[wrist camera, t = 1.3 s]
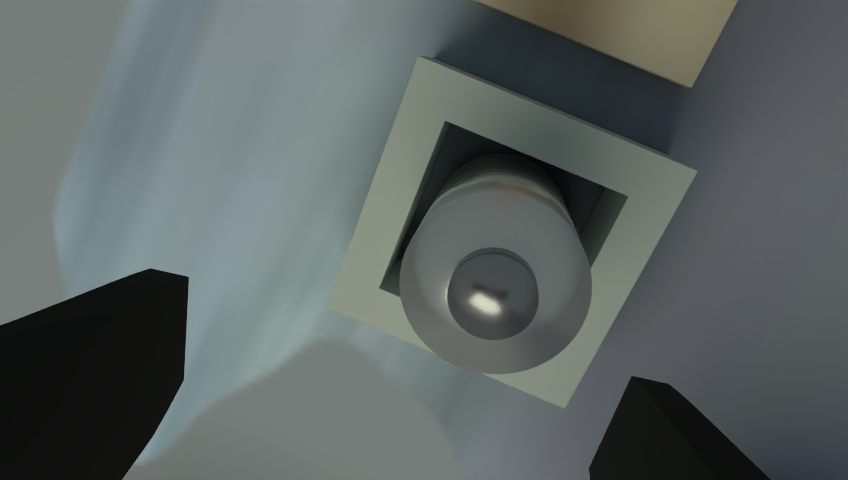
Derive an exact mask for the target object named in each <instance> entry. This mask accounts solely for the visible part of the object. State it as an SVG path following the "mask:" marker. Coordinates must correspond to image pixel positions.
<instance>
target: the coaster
mask: <svg viewBox="0 0 848 480" xmlns="http://www.w3.org/2000/svg"><path fill="white" fill-rule="evenodd" d="M473 1H475V2H477V3H480V4H482V5H485V6H487V7H490V8H492V9H495V10H497V11H500V12H502V13H504V14H507V15H509V16H512V17H514V18H517V19H519V20H522V21H524V22H526V23H529V24H531V25H534V26H536V27H539V28H541V29H544V30H546V31H549V32H551V33H553V34H556V35H558V36H561V37H563V38H566V39H568V40H571V41H573V42H576V43H578V44H580V45H583V46H585V47H588V48H590V49H593V50H595V51H598V52H600V53H602V54H605V55H607V56H610V57H612V58H615V59H617V60H620V61H622V62H625V63H627V64H629V65H632V66H634V67H637V68H639V69H642V70H644V71H647V72H649V73H652V74H654V75H656V76H659V77H661V78H664V79H666V80H669V81H671V82H674V83H676V84H678V85H681V86H683V87H686V88H692V86H693V84H694V83H695V81H696V79H697V77H698V75H699V73H700V71H701V69H702V67H703V66H704V64H705V62H706V60H707V58H708V56H709V54H710V52H711V50H712V49H713V47H714V45H715V43H716V41H717V39H718V37H719V35H720V33H721V32H722V30H723V28H724V26H725V24H726V22H727V20H728V18H729V16H730V15H731V13H732V11H733V9H734V7H735V5H736V3H737V1H738V0H473Z"/></svg>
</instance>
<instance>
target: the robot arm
mask: <svg viewBox="0 0 848 480" xmlns="http://www.w3.org/2000/svg"><path fill="white" fill-rule="evenodd" d="M188 282H189V277H186V276H182V275H177V274H173V273H168V272H164V271H159V270H155V269H147V270H144V271H141V272H138V273H135V274H132V275H129V276H127V277H124V278H121V279H119V280H116V281H114V282H111V283H108V284H106V285H103V286H101V287H98V288H96V289H93V290H91V291H88V292H86V293H83V294H81V295H78V296H76V297H73V298H71V299H68V300H66V301H63V302H61V303H58V304H55V305H53V306H50V307H48V308H45V309H43V310H40V311H37V312H35V313H32V314H30V315H27V316H25V317H22V318H19V319H17V320H14V321H12V322H9V323H6V324H3V325H0V480H122V479H123V477H124V476H125V475H126V473H127V472H128V470H129V469H130V468H131V466H132V465H133V463H134V462H135V461H136V459H137V458H138V456H139V455H140V454H141V452H142V451H143V449H144V448H145V447H146V445H147V444H148V442H149V441H150V439H151V438H152V437H153V435H154V433H155V432H156V430H157V428H158V426H159V425H160V423H161V421H162V419H163V417H164V416H165V414H166V412H167V410H168V409H169V407H170V405H171V403H172V401H173V399H174V397H175V395H176V393H177V392H178V390H179V388H180V386H181V384H182V382H183V380H184V364H185V343H186V323H187V302H188ZM589 473H590V480H770V479H769V478H768V477H767V476H766V475H765V474H764V473H763V472H762V471H761V470H760V469H759V468H758V467H757V466H756V465H755V464H754V463H753V462H752V461H751V460H749V459H748V458H747V457H746V456H745V455H744V454H743V453H742V452H741V451H740V450H739V449H738V448H737V447H736V446H735V445H734V444H733V443H732V442H731V441H730V440H729V439H728V438H727V437H726V436H725V435H724V434H723V433H722V432H721V431H720V430H719V429H718V428H717V427H716V426H714V425H713V424H712V423H711V422H710V421H709V420H708V419H707V418H706V417H705V416H704V415H703V414H702V413H701V412H700V411H699V410H698V409H697V408H696V407H695V406H693V405H692V404H691V403H690V402H689V401H688V400H687V399H686V398H685V397H683V396H682V395H681V394H680V393H679V392H678V391H676V390H675V389H674V388H673V387H672V386H670V385H669V384H666V383H661V382H657V381H652V380H648V379H644V378H639V377H635V376H632V377H631V379H630V381H629V383H628V385H627V387H626V390H625V392H624V394H623V396H622V398H621V400H620V403H619V405H618V407H617V409H616V411H615V413H614V415H613V418H612V420H611V422H610V424H609V426H608V428H607V431H606V433H605V435H604V437H603V439H602V441H601V444H600V446H599V448H598V450H597V452H596V454H595V456H594V459H593V461H592V463H591V465H590V467H589Z"/></svg>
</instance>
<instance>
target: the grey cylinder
mask: <svg viewBox="0 0 848 480" xmlns="http://www.w3.org/2000/svg"><path fill="white" fill-rule="evenodd" d="M399 288H400V297H401V302H402V306H403V309H404V312H405V314H406V317H407V319H408V321H409V323H410V325H411V327H412V328H413V330H414V331H415V333H416V334H417V335H418V337H419V338H420V339H421V340H422V341H423V343H424V344H425V345H426V346H427V347H428V348H430V349H431V350H432V351H433V352H434V353H436V354H437V355H438V356H440V357H441V358H443V359H444V360H446V361H448V362H450V363H452V364H454V365H456V366H458V367H461V368H464V369H467V370H470V371H474V372H478V373H486V374H510V373H517V372H521V371H525V370H529V369H531V368H534V367H537V366H539V365H541V364H543V363H545V362H547V361H549V360H551V359H552V358H553V357H555V356H556V355H558V354H559V353H560V352H561V351H563V350H564V349H565V348H566V347H567V346H568V345H569V344H570V343H571V341H572V340H573V339H574V338H575V337H576V335H577V334H578V332H579V330H580V329H581V327H582V326H583V323H584V321H585V319H586V317H587V314H588V311H589V307H590V303H591V296H592V277H591V270H590V266H589V262H588V259H587V256H586V253H585V251H584V249H583V246H582V244H581V241H580V239H579V236H578V234H577V231H576V229H575V226H574V224H573V222H572V219H571V217H570V214H569V212H568V209H567V207H566V204H565V202H564V199H563V197H562V195H561V192H560V190H559V188H558V186H557V185H556V183H555V182H554V180H553V179H552V178H551V177H550V175H549V174H548V173H547V172H546V171H545V170H543V169H542V168H541V167H540V166H538V165H537V164H535V163H534V162H532V161H530V160H528V159H525V158H522V157H519V156H516V155H511V154H489V155H484V156H481V157H478V158H475V159H473V160H470V161H468V162H466V163H465V164H463V165H462V166H460V167H459V168H458V169H457V170H456V171H454V172H453V173H452V174H451V175H450V177H449V178H448V179H447V180H446V182H445V183H444V185H443V186H442V188H441V190H440V191H439V193H438V195H437V197H436V198H435V200H434V202H433V203H432V205H431V207H430V208H429V210H428V212H427V214H426V215H425V217H424V219H423V220H422V222H421V224H420V225H419V227H418V229H417V231H416V232H415V234H414V236H413V237H412V239H411V241H410V243H409V245H408V247H407V249H406V251H405V254H404V257H403V260H402V263H401V269H400V277H399Z"/></svg>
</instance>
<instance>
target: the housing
mask: <svg viewBox="0 0 848 480" xmlns="http://www.w3.org/2000/svg"><path fill="white" fill-rule="evenodd" d="M451 123H452V124H455V125H457V126H460V127H462V128H464V129H467V130H469V131H472V132H474V133H476V134H479V135H481V136H484V137H486V138H489V139H491V140H493V141H496V142H498V143H501V144H503V145H505V146H508V147H510V148H513V149H515V150H517V151H520V152H522V153H525V154H527V155H530V156H532V157H534V158H537V159H539V160H542V161H544V162H546V163H549V164H551V165H554V166H556V167H559V168H561V169H563V170H566V171H568V172H571V173H573V174H575V175H578V176H580V177H583V178H585V179H588V180H590V181H592V182H595V183H597V184H600V185H602V186H604V187H605V188H604V190H603V192H602V194H601V196H600V198H599V200H598V202H597V204H596V206H595V208H594V210H593V212H592V214H591V216H590V218H589V220H588V222H587V224H586V226H585V228H584V230H583V232H582V234H581V236H580V238H579V239H580V241H581V244H582V246H583V249H584V251H585V253H586V256H587V259H588V262H589V266H590V270H591V277H592V296H591V303H590V307H589V311H588V314H587V317H586V319H585V321H584V323H583V326H582V327H581V329H580V330H579V332H578V334H577V335H576V337H575V338H574V339H573V340H572V341H571V343H570V344H569V345H568V346H567V347H566V348H565V349H564V350H563V351H561V352H560V353H559V354H558V355H556V356H555V357H553V358H552V359H551V360H549V361H547V362H545V363H543V364H541V365H539V366H537V367H534V368H531V369H529V370H525V371H521V372H517V373H510V374H486V373H482V374H484V375H486V376H489V377H491V378H493V379H496V380H498V381H500V382H503V383H505V384H507V385H510V386H512V387H514V388H517V389H519V390H522V391H524V392H526V393H529V394H531V395H533V396H536V397H538V398H540V399H543V400H545V401H547V402H550V403H552V404H554V405H557V406H559V407H561V408H564V409H565V408H566V406H567V404H568V402H569V401H570V399H571V397H572V395H573V393H574V392H575V390H576V388H577V386H578V384H579V383H580V381H581V379H582V377H583V376H584V374H585V372H586V370H587V368H588V367H589V365H590V363H591V361H592V360H593V358H594V356H595V354H596V352H597V351H598V349H599V347H600V345H601V343H602V342H603V340H604V338H605V336H606V335H607V333H608V331H609V329H610V327H611V326H612V324H613V322H614V320H615V318H616V317H617V315H618V313H619V311H620V310H621V308H622V306H623V304H624V302H625V301H626V299H627V297H628V295H629V293H630V292H631V290H632V288H633V286H634V285H635V283H636V281H637V279H638V277H639V276H640V274H641V272H642V270H643V268H644V267H645V265H646V263H647V261H648V260H649V258H650V256H651V254H652V252H653V251H654V249H655V247H656V245H657V243H658V242H659V240H660V238H661V236H662V235H663V233H664V231H665V229H666V227H667V226H668V224H669V222H670V220H671V218H672V217H673V215H674V213H675V211H676V210H677V208H678V206H679V204H680V202H681V201H682V199H683V197H684V195H685V193H686V192H687V190H688V188H689V186H690V185H691V183H692V181H693V179H694V177H695V176H696V174H697V172H698V171H697V170H695V169H693V168H691V167H690V166H688V165H686V164H684V163H682V162H680V161H679V160H677V159H675V158H673V157H671V156H669V155H667V154H665V153H662V152H660V151H657V150H655V149H653V148H650V147H648V146H645V145H643V144H640V143H638V142H636V141H633V140H631V139H628V138H626V137H623V136H621V135H619V134H616V133H614V132H611V131H609V130H606V129H604V128H602V127H599V126H597V125H594V124H592V123H589V122H587V121H585V120H582V119H580V118H577V117H575V116H572V115H570V114H568V113H565V112H563V111H560V110H558V109H555V108H553V107H551V106H548V105H546V104H543V103H541V102H538V101H536V100H534V99H531V98H529V97H526V96H524V95H521V94H519V93H517V92H514V91H512V90H509V89H507V88H504V87H502V86H500V85H497V84H495V83H492V82H490V81H487V80H485V79H483V78H480V77H478V76H475V75H473V74H470V73H468V72H465V71H463V70H461V69H458V68H456V67H453V66H451V65H448V64H446V63H444V62H441V61H439V60H436V59H434V58H429V57H422V56H418V58H417V61H416V63H415V66H414V69H413V72H412V74H411V77H410V80H409V83H408V85H407V88H406V91H405V94H404V96H403V99H402V102H401V104H400V107H399V110H398V113H397V115H396V118H395V121H394V124H393V126H392V129H391V132H390V135H389V137H388V140H387V143H386V146H385V148H384V151H383V154H382V157H381V159H380V162H379V165H378V168H377V170H376V173H375V176H374V179H373V181H372V184H371V187H370V190H369V192H368V195H367V198H366V201H365V203H364V206H363V209H362V212H361V214H360V217H359V220H358V223H357V225H356V228H355V231H354V234H353V236H352V239H351V242H350V245H349V247H348V250H347V253H346V256H345V258H344V261H343V264H342V267H341V269H340V272H339V275H338V278H337V280H336V283H335V286H334V288H333V291H332V294H331V297H330V299H329V302H328V305H327V308H329V309H331V310H334V311H336V312H338V313H341V314H343V315H345V316H348V317H350V318H352V319H355V320H357V321H359V322H362V323H364V324H366V325H369V326H371V327H374V328H376V329H378V330H381V331H383V332H385V333H388V334H390V335H392V336H395V337H397V338H399V339H402V340H404V341H406V342H409V343H411V344H413V345H416V346H418V347H420V348H423V349H425V350H428V351H430V352H432V353H434V352H433V351H432V350H431V349H430V348H428V347H427V346H426V345H425V344H424V343H423V341H422V340H421V339H420V338H419V337H418V335H417V334H416V333H415V331H414V330H413V328H412V327H411V325H410V323H409V321H408V319H407V317H406V314H405V312H404V309H403V306H402V302H401V297H400V288H399V277H400V269H401V263H402V260H403V259H400V258H398V255H399V253H400V250H401V248H402V245H403V243H404V240H405V238H406V235H407V233H408V230H409V228H410V225H411V223H412V220H413V217H414V215H415V212H416V210H417V207H418V205H419V202H420V200H421V197H422V195H423V192H424V190H425V187H426V185H427V182H428V180H429V177H430V175H431V172H432V170H433V167H434V165H435V162H436V160H437V157H438V155H439V152H440V150H441V147H442V145H443V142H444V140H445V137H446V135H447V132H448V130H449V127H450V125H451ZM435 354H436V353H435Z"/></svg>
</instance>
